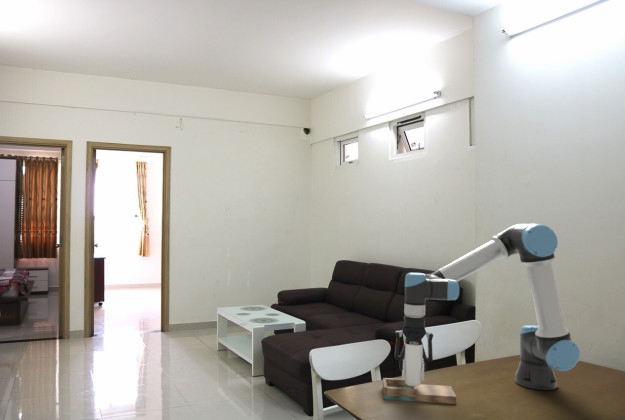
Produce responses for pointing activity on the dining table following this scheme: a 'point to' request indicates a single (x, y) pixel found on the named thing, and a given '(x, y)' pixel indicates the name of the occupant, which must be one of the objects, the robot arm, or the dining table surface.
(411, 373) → the white cylinder
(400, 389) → the rail board
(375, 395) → the dining table surface
